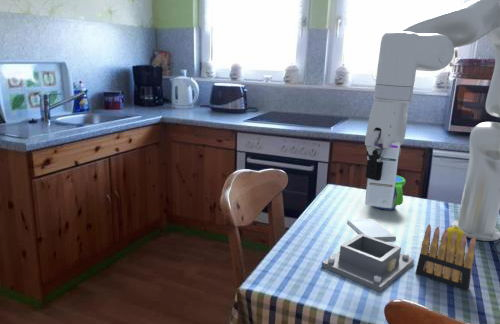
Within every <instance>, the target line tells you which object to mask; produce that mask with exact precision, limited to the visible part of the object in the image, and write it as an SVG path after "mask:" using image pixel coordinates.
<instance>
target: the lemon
mask: <svg viewBox="0 0 500 324" xmlns="http://www.w3.org/2000/svg"><path fill="white" fill-rule="evenodd" d="M446 229H447V230H448V241H447V250H448V247H449V244H450V241H451V237H452V235H453V233H454V232H455V231H456V233H457V242H456V253H457V250H458V247H459V244H460V240H461V238H462V236H463V234H464V232H463V231H462V230H461V229H459V228H458V227H457V226H454V227H451V226H449V227H447V228H446ZM443 233H444V231H443V232H442V234H441V237H440V241H441V240H442V236H443ZM456 253H455V256H456ZM446 254H447V252H446Z"/></svg>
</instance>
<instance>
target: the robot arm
mask: <svg viewBox="0 0 500 324" xmlns="http://www.w3.org/2000/svg"><path fill="white" fill-rule="evenodd" d="M485 36H486V38H487V40H488V42H489V43H490V47H491V49H492V52H493V54H494V58H495V63H494V64H495V65H494V68H493V73H492V77H491V80H490V84H489V87H488V92H487V96H486V99H485V111H486V113H487V114H489V115H490V116H492V117H496V118H500V0H470V1H468V2H466V3H464V4H463V5H461V6H460V7H457V8H455V9H452V10H450V11H447V12H443V13H440V14H439V15H435V16H432V17H429V18H426V19H423V20H421V21H418V22H416V23H413V24H411V25H408V26H406V27H405V28H403V29H401V30H400V31H388V32H385V33H383V36H382V37H381V40H380V48H379V54H378V63H377V68H376V69H377V71H376V77H375V86H374V92H373V102H372V105H371V108H370V109H371V110H370V113H369V116H368V122H367V127H366V132H365V140H364V145H365V146H366V154H367V156H366V160H367V163H366V171H365V178H366V179H368V178H369V179H373V180H377V181H379V180H381V175H382V167H383V162H381V161H382V158H383V155H384V153H385V150H388V149H391V146H392V143H393V142H395V141H399V142H400V148H399V156H398V165H397V171H398V170H399V162H400V156H401V153H402V151H401V149H402V147H403V144H404V142H405V137H406V133H407V132H406V130H407V124H408V113H409V104H411V103H412V99H413V94H414V93H413V92H414V89H415V87H414V86H415V81H416V75H417V74H416V73H417V71H421V72H424V71H425V72H437V71H440V70H442V69H445V68H446V67H447V66H449V65H450V63H451V62H452V61H453V58H454V56H455V48H460V47H465V46H469V45H472V44H474V43H476V42H477V41H478V40H480V39H482V38H483V37H485ZM377 142H378V143H379V144H381V145H383V146H382V147H380V146H375V145H376V143H377ZM468 142H469V143H468V144H469V154H468V155H469V156H468V157H469V158H468V165H467V171H466V176H465V181H464V186H463V191H462V197H461V202H460V207H459V211H458V212H459V213H458V216H457V220H456V219H455V220H453V221H451V222H450V227H454V226H457V227H458V228H459V229H461V230H462V231H463V232H464V234H466V238H469V239H472V238H473V236H475V239H476V240H477V241H483V242H484V241H485V242H495V241H497V240H499V239H500V231H499V230H498V229H497V228H496V225H497V220H498V218H499V217H498V216H499V212H500V122H496V121H484V122H480V123H478V124H476V125H475V126H474V127H473V128H472V129H471V132H470V134H469V141H468ZM377 151H380V153H379V155H378V152H377Z"/></svg>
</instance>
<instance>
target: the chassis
mask: <svg viewBox="0 0 500 324" xmlns="http://www.w3.org/2000/svg"><path fill="white" fill-rule="evenodd" d="M401 251H402V247H401V246H398V245H396V244H393V243H390V242H388V241H387V242H386V241H381V240H379V239H376V238H373V237H370V236H367V235H364V234H358V235H357V236H355V237H353V238H351V239H349V240H348V241H346V242H344V243H342V244H341V245H340V248H339V251H338V252H336V253H335V254H333V255H332V256H329V257H328V258H326V259H325V260H323V261H322V262H321V268H323V269H326V270H327V271H331V272H332V273H334V274H337V275H339V276H341V277H344V278H347V280H351V281H353V282H355V283H357V284H360V285H361V286H365V287H367V288H369V289H372V290H374V291H376V292H379V293H381V292H382V291H383V290H384V289H385V288H387V287H388V286H389V285H390V284H392V283H393V282H394V281H395V280H396V279H397V278H398V277H400V276H401V275H402V274H403V273H404V272H406V270H408V269H409V268H410V267H411V266H412V265H413V264H414V262H415V261H414V260H415V258H413V257H410V254H409V253H406V252H405V253H403V254H402V253H401Z"/></svg>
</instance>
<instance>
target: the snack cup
mask: <svg viewBox="0 0 500 324" xmlns="http://www.w3.org/2000/svg"><path fill="white" fill-rule="evenodd" d="M405 184H406V179H405V178H404V177H403V176H400V175H397V174H396V182H395V189H394V196H393V203H392V208H383V207H376V206H374V207H375V208H377V209H378V210H384V211H392V210H394V209H396V207H397V206H400V205H402V204H403V202H404V194H403V193H404V191H403V187H404V186H405Z"/></svg>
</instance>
